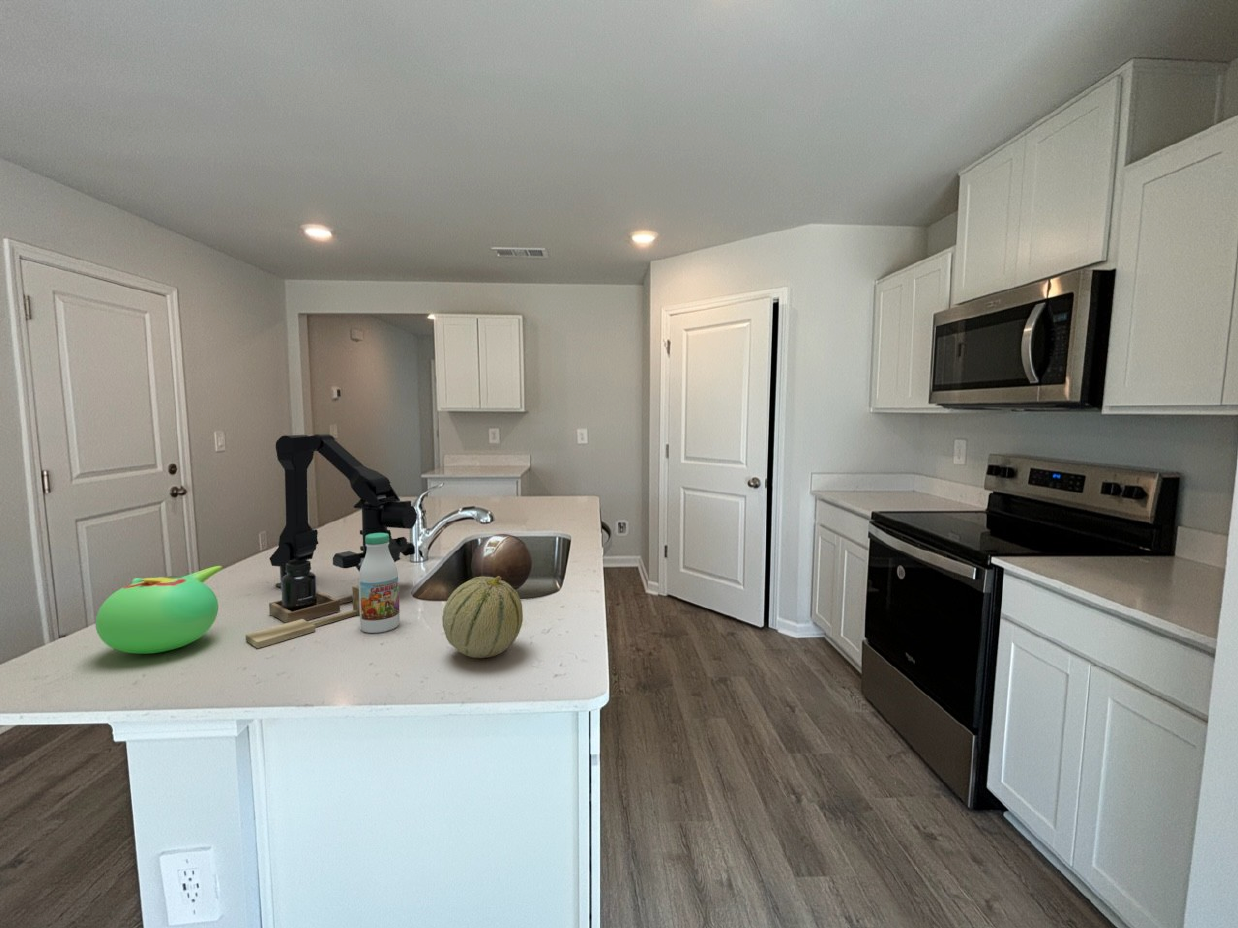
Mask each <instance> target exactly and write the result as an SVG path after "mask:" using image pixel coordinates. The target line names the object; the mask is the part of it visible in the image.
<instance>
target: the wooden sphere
mask: <svg viewBox="0 0 1238 928" xmlns="http://www.w3.org/2000/svg"><path fill="white" fill-rule="evenodd" d="M470 563H471V566H470V567H471V572H472V577H473V578H476V577H493V578H496V577H497V576H500V577H501V580H502V581H505V582H506V583H508V584H509V585H510V586H511V587H512V588H513V589H514V590H515V591H517V590H519V589H520V588H521V587H522V586H524V584H525V583H526V582H527V580H528V578H529V577H530V574H531V572H532V565H533V560H532V554H531V552H530V550H529V547H528V546H527V545H526V543H525V542H524V541H522V540H521V539H520V538H518V537H517V536H514V535H511V534H508V533H507V534H506V533H499V534H494V535H491V536H489V537H486V538H485V539H484V540H483V541H482V542H480V543H479V544H478V546H477V547H476V548H475V549H474V552H473V554H472V558H471V562H470Z"/></svg>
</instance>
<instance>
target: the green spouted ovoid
mask: <svg viewBox="0 0 1238 928" xmlns="http://www.w3.org/2000/svg"><path fill="white" fill-rule="evenodd" d="M221 569H223V566H222V565H216V566H215V565H214V566H211V567H207V568H204V569H202V570H199V571H196V572H193V573H190V574H187V575H184V576H175V575H170V576H158V577H145V578H141V577H135V578H132V580H131V583H130V584H128V585H126V586H123V587H121V588H119V589H118V590H116V591H115V592H113V593H112V594H111V595H109V597H108V598H106V599H105V600H104V602H103V603H102V604H101V606H100V608H99V609H98V611H97V614H96V617H95V629H96V633H97V635H98V637H99V638H100V640H101V641H102V642H103V643H104V644H105V645H106V646H108V647H110V648H111V649H114V650H116V651H118V652H119V651H120V652H124V653H129V654H136V655H137V654H138V655H139V654H140V655H148V654H150V655H151V654H158V653H164V652H168V651H172V650H173V651H174V650H176V649H180V648H182V647H185V646H187V645H189V644H191V643H193V642H195V641H196V640H198V639H200V638H201V637H202V636H204V635H205V634H206V633H207V632H208V631H209V630H210V629H211V627H212V626H213V625H214V622H215V621H216V619H217V617H218V614H219V613H218V612H219V602H218V601H219V600H218V598H217V596H216V594H215V591H213V590H212V588H211V587H209V586H208V585H207V584H205V582H206V581H207V580H209V579H210V578H212V577H213V576H214V575H216V574H217V573H218V572H219V571H221Z"/></svg>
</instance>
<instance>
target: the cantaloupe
mask: <svg viewBox="0 0 1238 928" xmlns="http://www.w3.org/2000/svg"><path fill="white" fill-rule="evenodd" d="M523 611H524V610H523V604H522V599H521V597H520V596H519V593H518V592H517V590H514V589H513V588H512V587H511V586H510V585H509V584H508V583H506V582H505V581H502V580H501V577H500V576H497V577H496V578H493V577H476V578H474V577H473V578H471V579H469V580H467V581H465V582H464V583H462V584H460V585H459V586H458V587H457V588H456V589H454V590H453V592H452V593H451V594H450V596H449V597H448V598H447V601H446V602H445V604H444V608H443V612H442V616H441V618H442V619H441V621H442V629H443V631H444V632H443V633H444V635H445V638H446V640H447V642H448V644H449V645H451V646H452V648H454V649H455V650H457V651H458V652H459V653H460V654H463V655H465V656H468V657H470V658H474V659H483V658H492V657H495V656H498V655H500V654H501V653H503V652H505V650H506V649H509V647H510V646H512V645H513V643H514V642H515V640H516V639H517V637H518V636H519V634H520V632H521V629H522V625H523V621H524V614H523Z"/></svg>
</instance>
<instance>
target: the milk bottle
mask: <svg viewBox="0 0 1238 928" xmlns="http://www.w3.org/2000/svg"><path fill="white" fill-rule="evenodd" d="M365 543H366V545H365V546H367V552H366V555H365V558H364V561H363V563H362V565H361V568H360V572H359V571H358V573H359V574H358V585H359V606H360V615H359V623H360V624H359V625H360V630H361V631H362V632H364V633H368V634H369V633H370V634H376V633H377V634H379V633H386V632H389V631H391V630H394V629H396V628H397V627H398V626H399V625H400V622H401V621H400V620H401V619H400V618H401V617H400V616H401V615H400V614H401V613H400V612H401V611H400V591H399V590H400V587H399V586H400V585H399V571H398V567H397V564H396V562H394V560H393V558H392V557H391V554H390V552H389V549H388V545H389V534H387V533H373V534H369V535H366V537H365Z"/></svg>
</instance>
